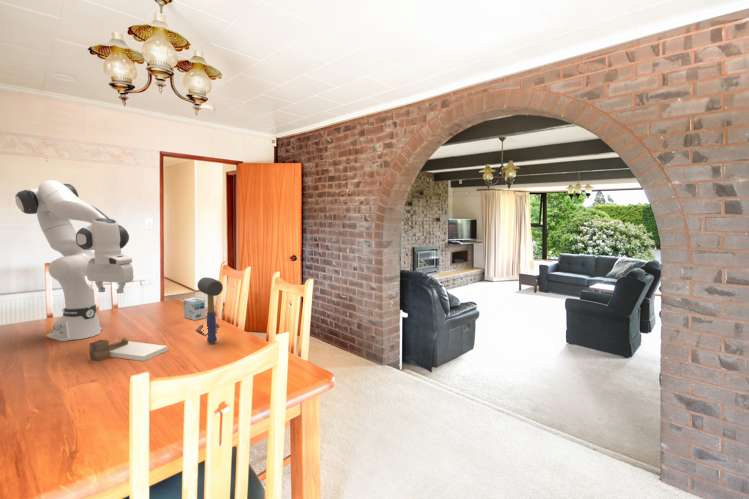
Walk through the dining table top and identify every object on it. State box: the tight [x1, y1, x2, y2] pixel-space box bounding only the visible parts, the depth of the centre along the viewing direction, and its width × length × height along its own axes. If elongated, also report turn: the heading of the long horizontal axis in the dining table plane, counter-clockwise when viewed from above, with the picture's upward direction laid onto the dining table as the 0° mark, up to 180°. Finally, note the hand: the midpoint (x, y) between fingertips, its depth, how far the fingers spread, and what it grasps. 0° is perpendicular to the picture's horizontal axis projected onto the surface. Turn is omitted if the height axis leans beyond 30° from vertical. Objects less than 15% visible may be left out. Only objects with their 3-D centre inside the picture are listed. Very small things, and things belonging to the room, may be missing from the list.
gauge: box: [88, 337, 129, 362], centre depth 155 cm, size 4×14×7 cm, turn 165°
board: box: [109, 340, 169, 362], centre depth 158 cm, size 22×12×2 cm, turn 75°
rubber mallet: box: [197, 276, 224, 345], centre depth 168 cm, size 12×8×30 cm, turn 46°
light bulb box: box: [183, 297, 207, 321], centre depth 210 cm, size 11×7×11 cm, turn 58°
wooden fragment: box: [195, 322, 220, 337], centre depth 192 cm, size 26×11×1 cm, turn 21°
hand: (111, 292), depth 152 cm, fingers open, 8 cm apart
